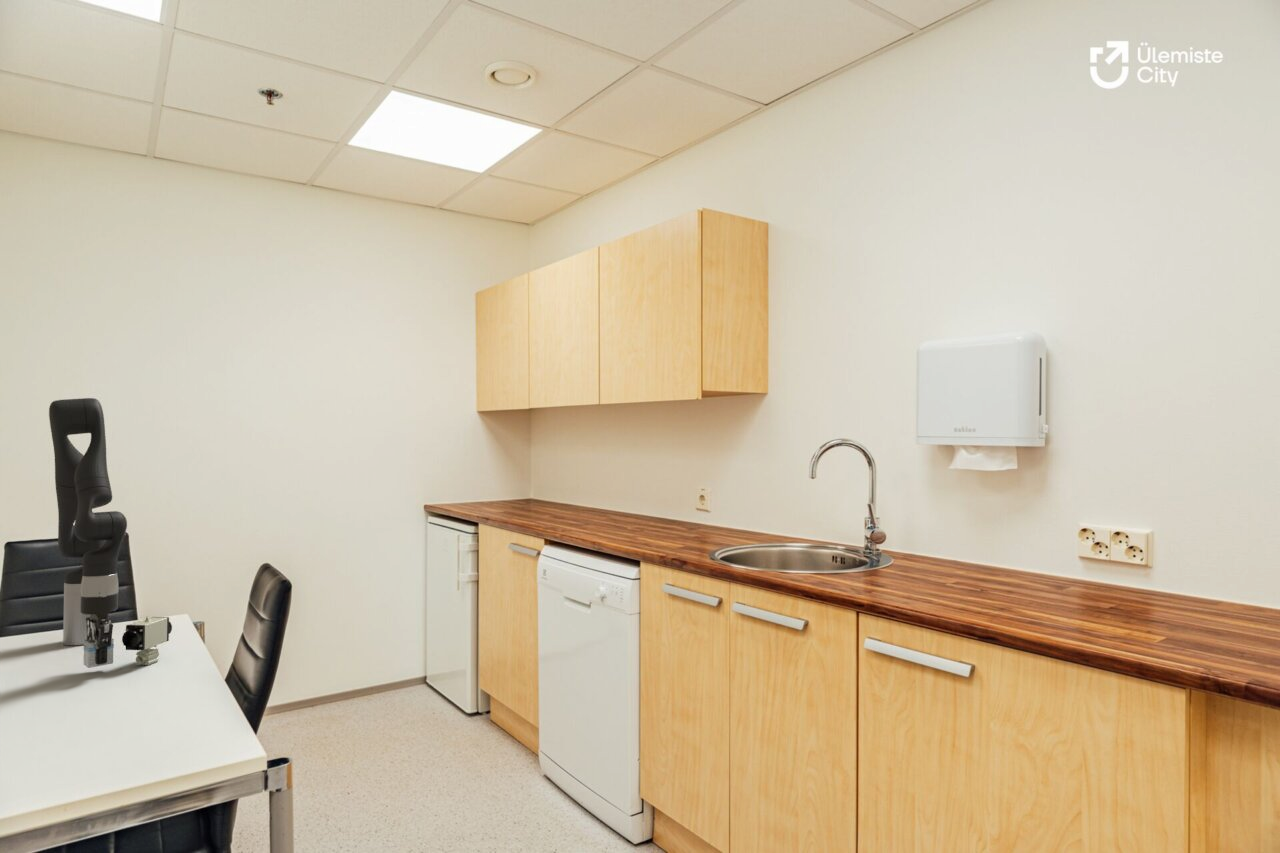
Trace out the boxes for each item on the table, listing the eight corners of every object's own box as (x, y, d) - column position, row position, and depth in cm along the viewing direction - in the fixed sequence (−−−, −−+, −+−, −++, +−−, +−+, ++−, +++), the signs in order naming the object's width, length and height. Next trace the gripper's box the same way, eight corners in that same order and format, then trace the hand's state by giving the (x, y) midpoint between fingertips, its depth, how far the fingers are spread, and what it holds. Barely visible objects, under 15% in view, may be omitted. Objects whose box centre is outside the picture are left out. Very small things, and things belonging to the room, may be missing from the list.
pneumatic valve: (172, 657, 195) (173, 611, 195) (138, 670, 183) (138, 622, 184) (153, 656, 196) (153, 611, 196) (117, 670, 184) (118, 622, 184)
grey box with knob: (83, 664, 181) (83, 635, 181) (108, 659, 185) (108, 631, 185) (88, 668, 178) (88, 639, 178) (113, 663, 182) (113, 635, 182)
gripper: (73, 591, 184) (72, 659, 184) (89, 598, 175) (87, 671, 174) (109, 586, 190) (108, 653, 189) (126, 594, 180) (125, 664, 180)
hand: (98, 661), depth 182 cm, fingers closed on grey box with knob, 4 cm apart
